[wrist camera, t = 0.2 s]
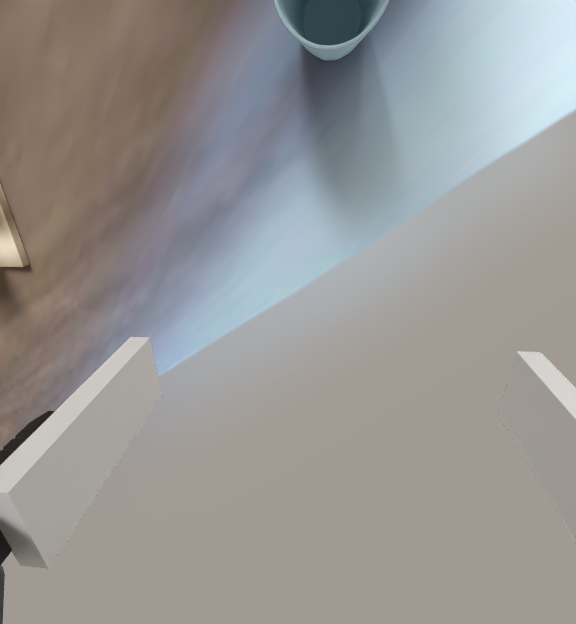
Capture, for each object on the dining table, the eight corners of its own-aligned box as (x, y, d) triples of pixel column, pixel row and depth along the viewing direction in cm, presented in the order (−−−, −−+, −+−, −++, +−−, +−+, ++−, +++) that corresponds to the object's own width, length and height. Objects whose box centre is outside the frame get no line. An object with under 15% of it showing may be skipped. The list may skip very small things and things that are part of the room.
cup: (377, 69, 32) (396, 40, 23) (292, 81, 33) (277, 58, 24) (378, -43, 29) (399, -132, 19) (284, -26, 30) (261, -101, 20)
